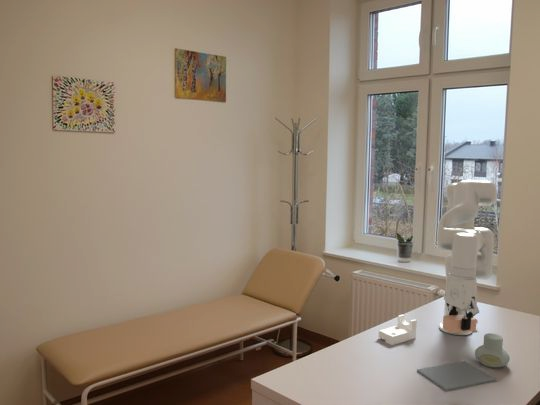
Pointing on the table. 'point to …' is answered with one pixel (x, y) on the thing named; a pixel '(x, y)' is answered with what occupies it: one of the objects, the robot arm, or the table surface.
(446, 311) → the robot arm
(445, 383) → the mat
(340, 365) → the table surface
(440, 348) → the table surface
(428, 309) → the table surface
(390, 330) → the bracket
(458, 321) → the card box
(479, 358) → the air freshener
